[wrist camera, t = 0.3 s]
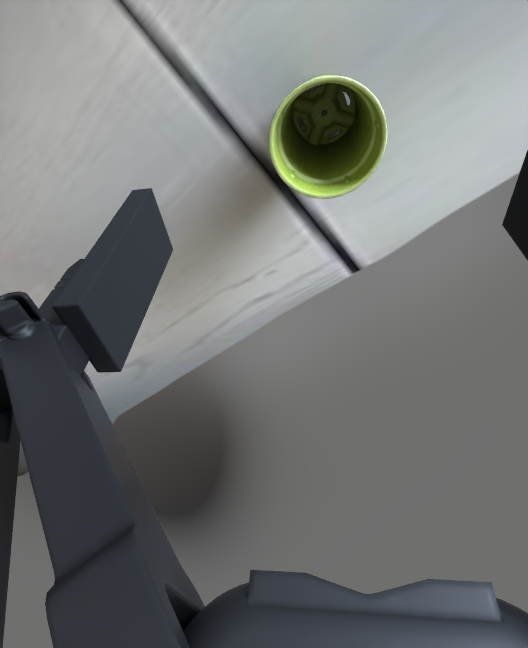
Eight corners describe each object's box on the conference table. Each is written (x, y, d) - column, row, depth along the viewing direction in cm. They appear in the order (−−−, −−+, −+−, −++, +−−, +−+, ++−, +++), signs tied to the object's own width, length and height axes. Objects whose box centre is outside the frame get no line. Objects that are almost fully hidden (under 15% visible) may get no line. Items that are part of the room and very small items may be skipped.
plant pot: (303, 177, 42) (303, 216, 35) (256, 93, 36) (246, 123, 30) (387, 129, 38) (403, 164, 31) (347, 27, 32) (358, 46, 26)
